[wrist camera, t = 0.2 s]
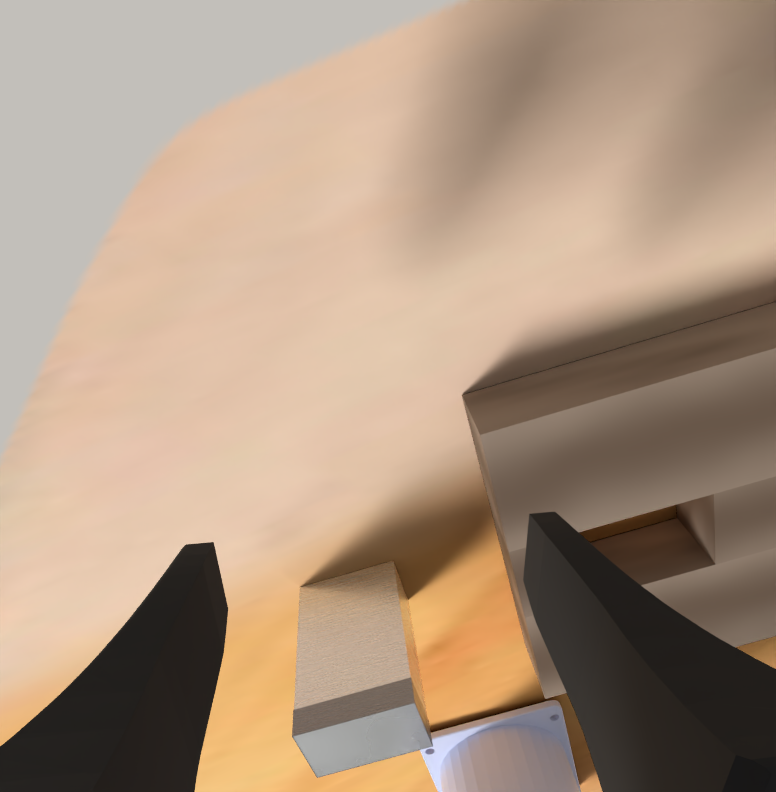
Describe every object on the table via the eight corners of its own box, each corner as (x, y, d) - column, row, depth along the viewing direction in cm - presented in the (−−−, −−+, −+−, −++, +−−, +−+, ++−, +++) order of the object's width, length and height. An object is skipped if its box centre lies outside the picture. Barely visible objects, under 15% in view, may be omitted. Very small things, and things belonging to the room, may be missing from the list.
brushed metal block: (408, 600, 28) (432, 746, 22) (318, 625, 28) (317, 777, 22) (393, 560, 27) (415, 702, 20) (299, 587, 27) (292, 736, 21)
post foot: (919, 535, 29) (978, 580, 27) (525, 644, 30) (545, 698, 27) (976, 242, 22) (1065, 262, 20) (461, 394, 23) (480, 435, 20)
